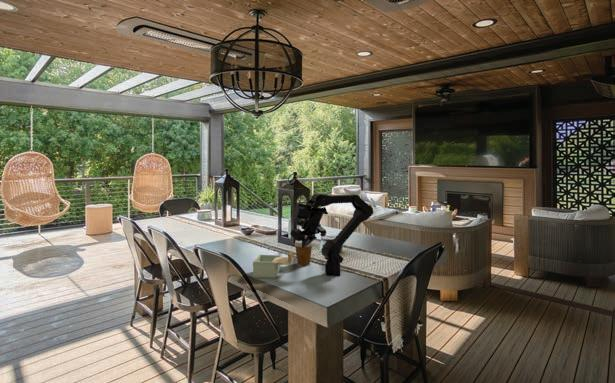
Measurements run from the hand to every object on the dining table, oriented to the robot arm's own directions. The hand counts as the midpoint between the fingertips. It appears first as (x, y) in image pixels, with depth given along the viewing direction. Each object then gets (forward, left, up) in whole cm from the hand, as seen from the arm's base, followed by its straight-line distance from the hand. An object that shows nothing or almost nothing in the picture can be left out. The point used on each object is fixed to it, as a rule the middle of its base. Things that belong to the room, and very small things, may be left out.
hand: (303, 247), depth 177 cm
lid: (+9, +4, -6) cm, 12 cm away
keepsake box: (+17, +4, -12) cm, 21 cm away
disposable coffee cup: (+2, -14, -13) cm, 19 cm away
